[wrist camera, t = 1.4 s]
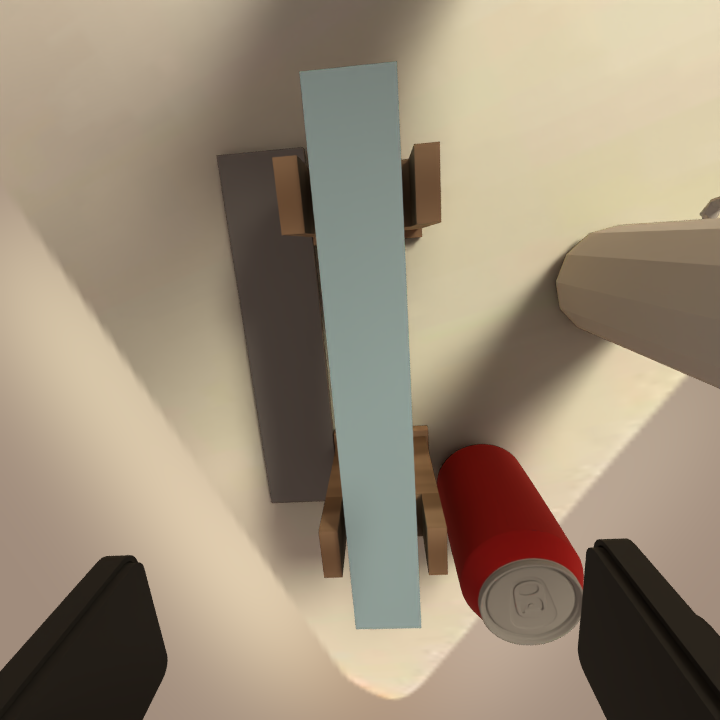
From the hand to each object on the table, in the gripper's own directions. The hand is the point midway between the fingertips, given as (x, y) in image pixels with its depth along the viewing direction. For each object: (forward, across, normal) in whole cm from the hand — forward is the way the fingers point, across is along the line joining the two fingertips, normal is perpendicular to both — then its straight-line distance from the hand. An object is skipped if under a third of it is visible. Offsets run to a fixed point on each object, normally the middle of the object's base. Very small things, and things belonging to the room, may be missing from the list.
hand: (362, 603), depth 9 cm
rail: (+14, 0, 0) cm, 14 cm away
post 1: (+22, 0, -10) cm, 24 cm away
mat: (+22, +6, -1) cm, 23 cm away
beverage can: (+22, -8, +11) cm, 26 cm away
